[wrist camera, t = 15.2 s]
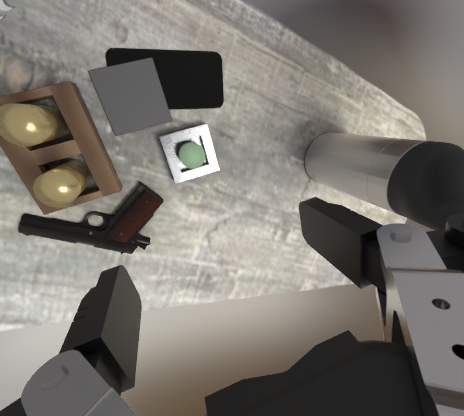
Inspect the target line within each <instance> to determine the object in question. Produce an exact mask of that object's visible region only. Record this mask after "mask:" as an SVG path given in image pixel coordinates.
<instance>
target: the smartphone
mask: <svg viewBox="0 0 464 416" xmlns="http://www.w3.org/2000/svg"><path fill="white" fill-rule="evenodd" d="M147 58H152V59H153V62H154V65H155V68H156V71H157V74H158V77H159V81H160V84H161V87H162V90H163V93H164V96H165V99H166V102H167V105H168V109H202V108H219V107H221V106H222V104H223V101H224V98H223V73H222V58H221V56H220V55H219V54H218V53H217V52H207V51H181V50H154V49H127V48H111V49H109V50H108V51H107V52H106V61H107V66H108V67H110V66H114V65H119V64H124V63H128V62H133V61H138V60H142V59H147Z"/></svg>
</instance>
